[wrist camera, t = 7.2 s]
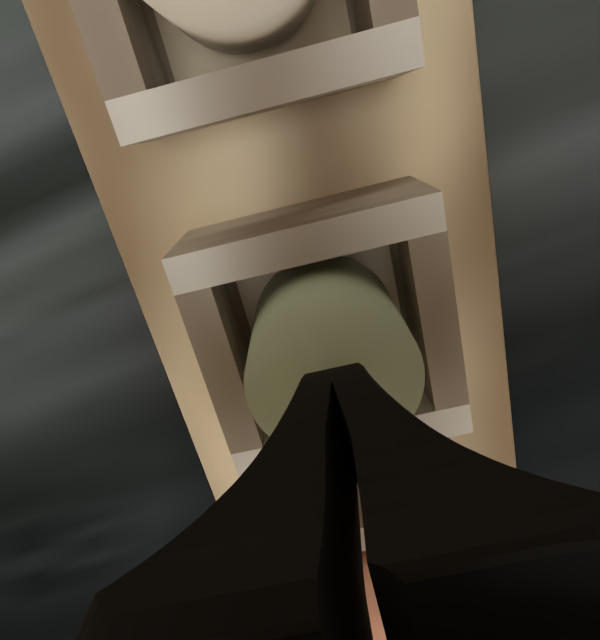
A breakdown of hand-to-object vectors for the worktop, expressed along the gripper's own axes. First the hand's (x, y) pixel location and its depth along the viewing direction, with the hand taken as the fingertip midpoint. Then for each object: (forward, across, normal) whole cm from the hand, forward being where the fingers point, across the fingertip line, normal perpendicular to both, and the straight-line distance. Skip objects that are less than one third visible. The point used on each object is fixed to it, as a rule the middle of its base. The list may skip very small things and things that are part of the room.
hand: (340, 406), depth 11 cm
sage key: (+5, 0, 0) cm, 5 cm away
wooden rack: (+7, 0, 0) cm, 7 cm away
